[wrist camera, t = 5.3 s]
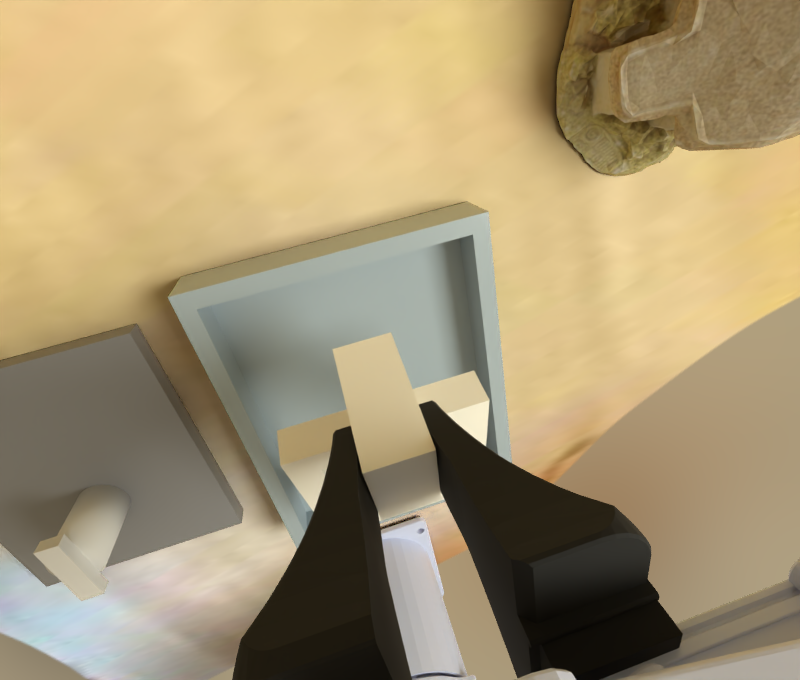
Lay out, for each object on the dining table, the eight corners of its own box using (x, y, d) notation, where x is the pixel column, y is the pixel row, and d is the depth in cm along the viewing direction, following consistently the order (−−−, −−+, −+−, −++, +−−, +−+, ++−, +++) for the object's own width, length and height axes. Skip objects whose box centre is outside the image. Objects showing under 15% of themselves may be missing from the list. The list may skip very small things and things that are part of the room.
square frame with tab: (471, 460, 23) (508, 545, 20) (326, 508, 22) (343, 604, 19) (475, 307, 15) (541, 416, 12) (241, 375, 14) (247, 510, 11)
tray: (496, 451, 29) (513, 478, 27) (297, 516, 27) (298, 551, 25) (467, 201, 21) (488, 211, 18) (181, 276, 19) (167, 297, 17)
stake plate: (243, 509, 26) (234, 589, 22) (54, 570, 25) (5, 667, 21) (136, 323, 20) (93, 383, 15) (-124, 394, 18) (-253, 481, 14)
